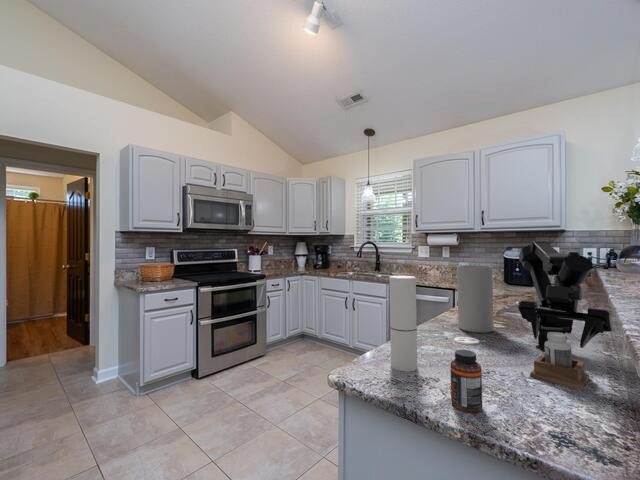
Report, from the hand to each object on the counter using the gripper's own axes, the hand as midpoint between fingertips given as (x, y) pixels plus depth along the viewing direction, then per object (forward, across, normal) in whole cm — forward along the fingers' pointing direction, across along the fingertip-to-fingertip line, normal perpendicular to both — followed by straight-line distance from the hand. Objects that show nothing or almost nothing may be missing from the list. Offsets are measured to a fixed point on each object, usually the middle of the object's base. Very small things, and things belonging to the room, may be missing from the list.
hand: (557, 342), depth 76 cm
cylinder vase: (-16, -32, +29) cm, 46 cm away
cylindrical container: (+21, -31, -8) cm, 38 cm away
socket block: (+5, 0, +7) cm, 9 cm away
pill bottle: (+5, 0, +7) cm, 8 cm away
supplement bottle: (+28, -10, -14) cm, 33 cm away
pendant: (-4, -27, +17) cm, 32 cm away
